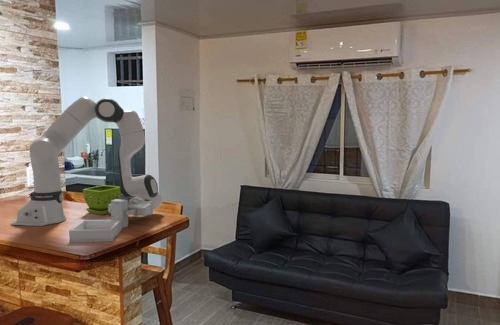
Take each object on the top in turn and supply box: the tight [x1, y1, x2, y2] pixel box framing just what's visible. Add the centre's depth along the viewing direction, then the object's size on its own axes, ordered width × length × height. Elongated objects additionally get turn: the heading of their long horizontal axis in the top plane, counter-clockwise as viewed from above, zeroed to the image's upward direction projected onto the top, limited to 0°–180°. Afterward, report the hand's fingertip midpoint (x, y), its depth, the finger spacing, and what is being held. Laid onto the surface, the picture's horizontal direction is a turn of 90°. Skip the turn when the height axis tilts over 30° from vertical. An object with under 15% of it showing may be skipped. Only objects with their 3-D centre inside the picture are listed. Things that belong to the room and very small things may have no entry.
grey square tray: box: [68, 219, 123, 243], centre depth 163 cm, size 16×16×4 cm
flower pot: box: [82, 184, 122, 216], centre depth 202 cm, size 14×14×13 cm
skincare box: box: [110, 198, 129, 229], centre depth 176 cm, size 6×4×12 cm
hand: (118, 212), depth 175 cm, fingers open, 7 cm apart
